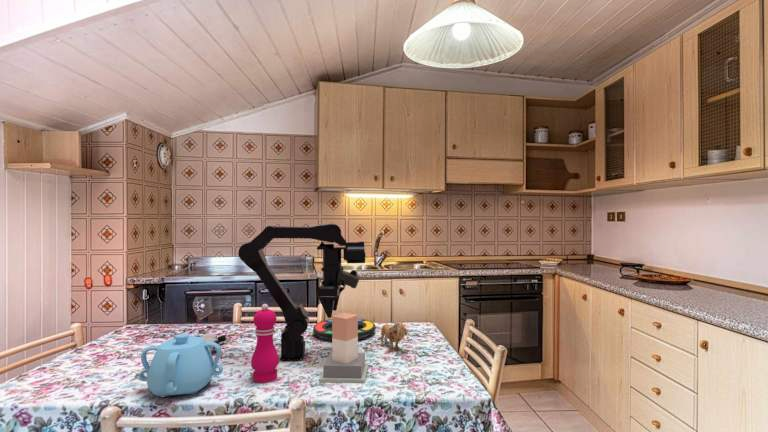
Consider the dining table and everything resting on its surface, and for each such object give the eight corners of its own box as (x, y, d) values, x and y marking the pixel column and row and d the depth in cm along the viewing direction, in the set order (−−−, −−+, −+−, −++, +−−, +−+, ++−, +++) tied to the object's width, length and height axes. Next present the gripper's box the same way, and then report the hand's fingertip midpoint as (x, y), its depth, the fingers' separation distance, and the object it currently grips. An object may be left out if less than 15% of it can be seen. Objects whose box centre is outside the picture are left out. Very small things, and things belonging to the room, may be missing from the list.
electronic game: (388, 333, 151) (388, 320, 151) (342, 348, 134) (342, 334, 134) (346, 322, 166) (346, 310, 166) (300, 335, 149) (300, 322, 149)
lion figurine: (410, 351, 130) (410, 323, 130) (397, 354, 127) (397, 326, 127) (383, 340, 142) (383, 314, 142) (370, 342, 139) (370, 316, 139)
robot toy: (194, 345, 140) (173, 357, 125) (195, 332, 140) (174, 342, 125) (230, 345, 140) (213, 357, 125) (231, 331, 140) (214, 342, 125)
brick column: (332, 360, 111) (332, 316, 111) (343, 354, 116) (343, 312, 116) (346, 363, 109) (346, 318, 109) (357, 358, 113) (357, 314, 113)
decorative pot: (228, 386, 104) (228, 333, 104) (162, 409, 92) (162, 349, 92) (198, 371, 115) (198, 322, 115) (135, 389, 102) (135, 335, 102)
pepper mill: (263, 386, 104) (263, 308, 104) (245, 379, 108) (244, 304, 108) (284, 376, 110) (284, 302, 110) (266, 371, 114) (266, 299, 114)
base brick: (318, 382, 107) (318, 366, 106) (327, 365, 119) (327, 351, 118) (364, 383, 106) (364, 367, 106) (368, 365, 118) (368, 352, 118)
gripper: (354, 267, 117) (354, 322, 117) (361, 260, 135) (361, 307, 135) (315, 267, 117) (316, 321, 117) (327, 260, 136) (328, 307, 136)
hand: (332, 313), depth 126 cm, fingers open, 9 cm apart
